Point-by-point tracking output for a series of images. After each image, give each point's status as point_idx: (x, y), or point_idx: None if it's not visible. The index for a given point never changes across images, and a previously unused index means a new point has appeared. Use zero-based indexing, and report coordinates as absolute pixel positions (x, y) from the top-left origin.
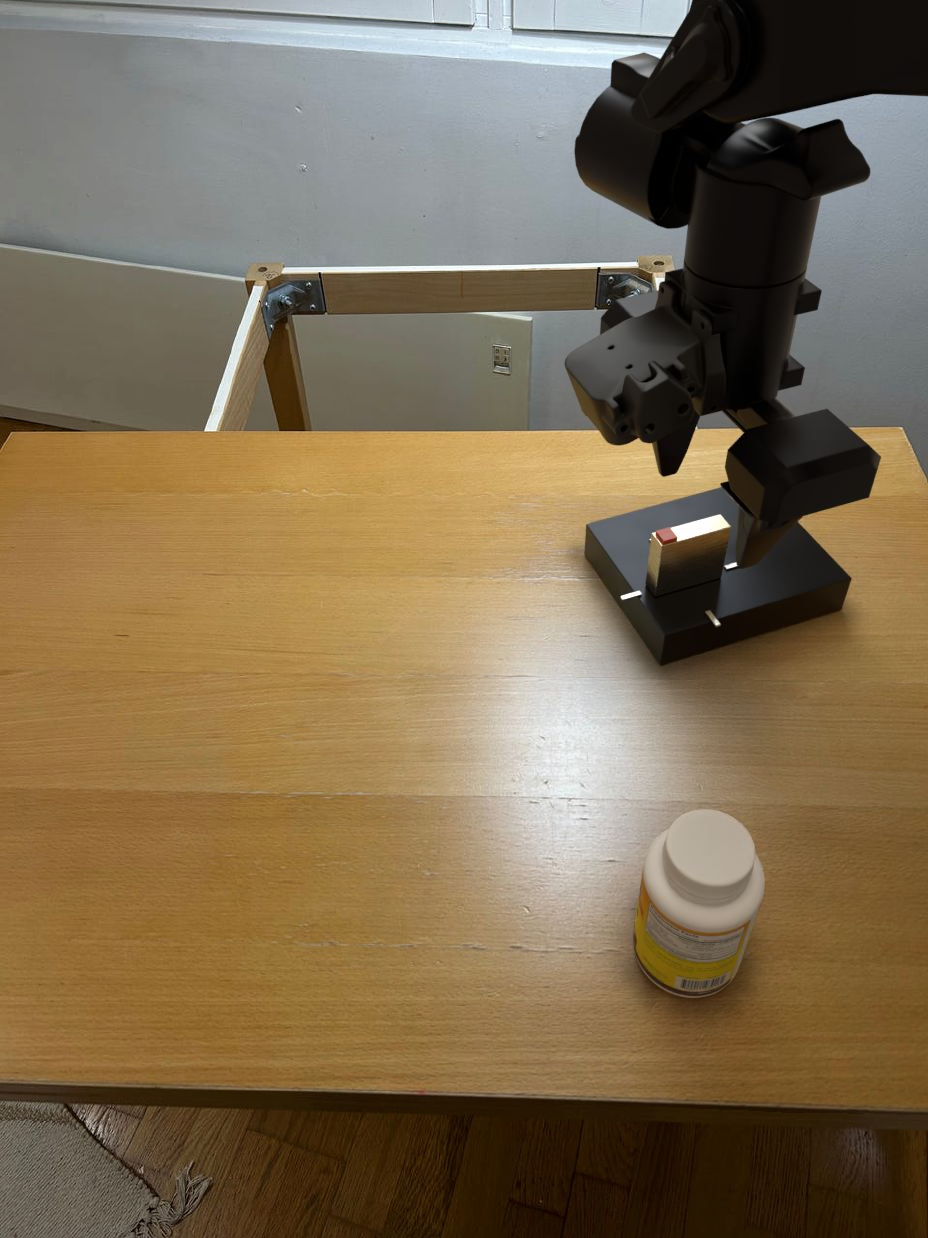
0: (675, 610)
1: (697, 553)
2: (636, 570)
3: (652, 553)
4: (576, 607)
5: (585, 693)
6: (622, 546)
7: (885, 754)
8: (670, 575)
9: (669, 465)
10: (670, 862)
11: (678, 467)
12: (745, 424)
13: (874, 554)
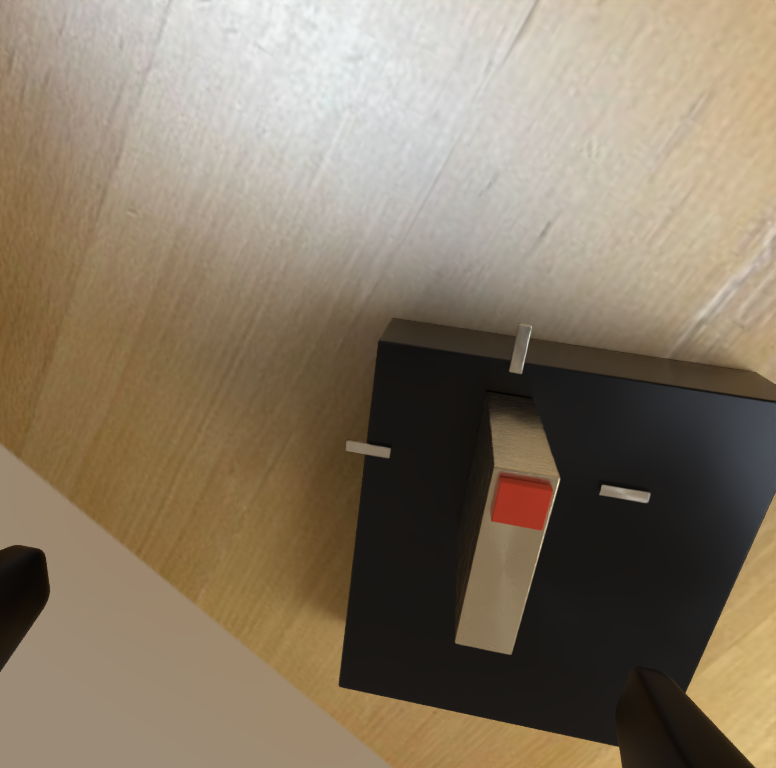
0: (429, 403)
1: (469, 530)
2: (584, 409)
3: (532, 444)
4: (628, 264)
5: (406, 140)
6: (675, 431)
7: (104, 487)
8: (481, 445)
9: (641, 736)
10: None
11: (620, 744)
12: None
13: (424, 732)
